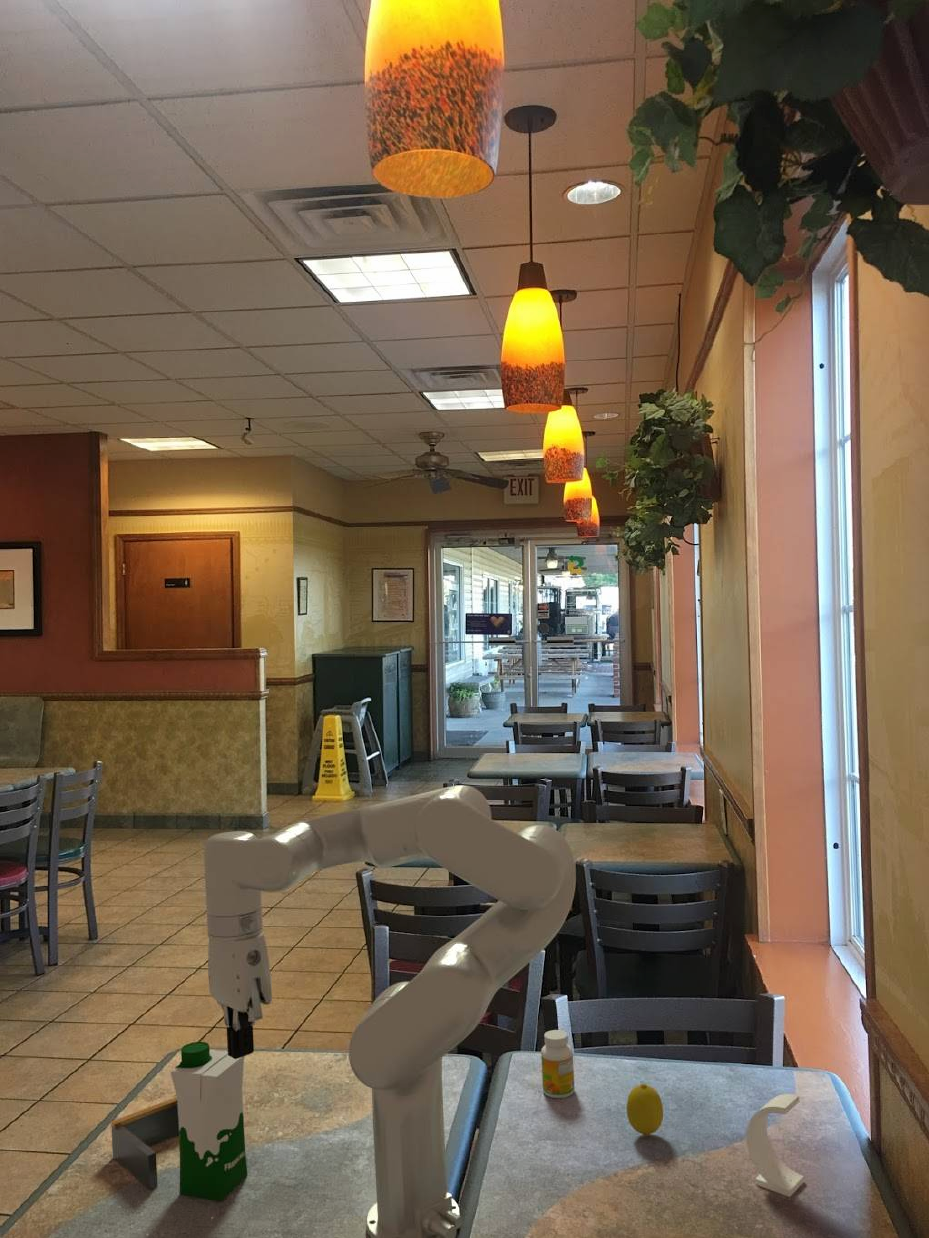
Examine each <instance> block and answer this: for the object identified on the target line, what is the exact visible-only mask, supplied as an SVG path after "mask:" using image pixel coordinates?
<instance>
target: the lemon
mask: <svg viewBox="0 0 929 1238" xmlns="http://www.w3.org/2000/svg"><path fill="white" fill-rule="evenodd" d="M627 1096H628V1097H627V1102H626V1116H627V1119H628V1122H629V1124H630V1126H631V1128H633V1129H634V1131H636V1132H637V1133H639V1134H641V1135H642V1136H644V1137H645V1138H646V1137H649V1136H650V1135H651V1134H654V1133H655V1132H657V1131H658V1130H659V1129H660V1127H661V1125H662V1123H663V1119H664V1106H663V1102H662V1099H661V1096H660V1095H659V1093H658V1091H656V1089H654V1087H652V1086H650V1085H647V1084H646V1083H641V1084H640V1085H639V1084H638V1085H636V1087H634V1088H633V1089H631V1091H630V1092H629V1093H628V1095H627Z"/></svg>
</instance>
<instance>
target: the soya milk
mask: <svg viewBox="0 0 929 1238" xmlns="http://www.w3.org/2000/svg"><path fill="white" fill-rule="evenodd" d="M180 1054H181V1055H180V1056H181V1061H180V1062H179V1064H178V1065H176V1066H175V1067H174V1068H173V1069H172V1070H171V1071H170V1076H171V1079H172V1082H173V1087H174V1090H175V1096H176V1097H177V1105H178V1125H179V1135H178V1141H179V1195H180V1196H186V1197H192V1198H199V1199H203V1200H212V1201H217V1202H223V1201H224V1200H225V1199H226V1198H227V1197H228V1196H229V1195H230V1194H231V1193H232V1191H234V1190H235V1189H236V1188H237V1187H238V1186H239V1185H240V1184H241V1182H243V1181H244V1180H245V1179H246V1177H248V1165H247V1154H246V1141H245V1140H246V1139H245V1123H244V1122H245V1119H244V1118H245V1117H244V1116H245V1115H244V1103H243V1102H244V1099H243V1095H244V1093H243V1078H244V1067H245V1056H243V1057H240V1058H238V1059H234V1058H232V1057H230V1056H229V1055H228V1051H220V1050H219V1051H216V1050H210V1045H209V1043H208V1042H205V1041H195V1042H194V1041H193V1042H191V1043H187V1044H185V1045H183V1046H182V1047H181V1050H180Z"/></svg>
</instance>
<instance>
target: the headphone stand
mask: <svg viewBox="0 0 929 1238" xmlns="http://www.w3.org/2000/svg"><path fill="white" fill-rule="evenodd" d="M798 1103H800V1095H798V1094H793V1093H786V1094H779V1095H777V1096H774V1097H773V1098H771V1099H770V1100H769V1101H768V1102H766V1104H764V1105H763V1106H762V1107H761V1108H760V1109H759V1110H758V1111H757V1112H755V1113H754V1114H753V1115H752V1117H751V1118H750V1120H749V1122H748V1123H747V1124H748V1125H747V1128H746V1135H745V1136H746V1137H745V1138H746V1145H747V1146H746V1147H747V1151H748V1154H749V1157H750V1159H751V1161H752V1163H753V1165H754V1167H755V1169H756V1170H757V1172H758V1173H759V1175H758V1176H757V1177H756V1178H755V1185H756V1186H758V1187H761V1188H764V1189H766V1190H769V1191H772V1192H775V1193H778V1194H781V1195H783V1196H786V1197H789V1198H791V1197H792V1196H793V1194H794V1193H796V1191H797V1190H798V1189H799V1188H800V1187H801V1186H802V1185H803V1184H804V1183H805V1177H804V1175H801V1174H799V1173H798V1172H796V1171H795V1170H793V1169H791V1168H790V1167H788V1166H787V1165H786V1164H785V1163H784V1162H783V1161H782V1160H781V1158H780V1157H779V1156H778V1155H777V1153H776V1152H775V1150H774V1148H773V1146H772V1144H771V1141H770V1139H769V1134H768V1129H767V1123H768V1117H769V1114H783V1115H787V1113H789V1112H790V1111H791V1110H792V1109H793V1108H794V1107H795V1106H796V1105H797V1104H798Z"/></svg>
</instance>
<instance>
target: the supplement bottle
mask: <svg viewBox="0 0 929 1238" xmlns="http://www.w3.org/2000/svg"><path fill="white" fill-rule="evenodd" d="M543 1036H544V1037H543V1038H544V1041H543V1042H544V1045H543V1047H541V1051H540V1053H541V1054H540V1055H541V1056H540V1057H541V1077H542V1090H543V1094H544V1095H545V1096H547V1097H549V1098H552V1099H565V1098H568V1097H570V1096H571V1095H573V1094H574V1093H575V1074H574V1073H575V1072H574V1071H575V1069H574V1053H573V1049H572V1047H571V1046H570V1045H569V1044H568V1043H569V1035H568V1033H567V1032H566V1031H564V1030H560V1029H553V1030H548V1031H546V1032H545V1033H544V1035H543Z"/></svg>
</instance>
